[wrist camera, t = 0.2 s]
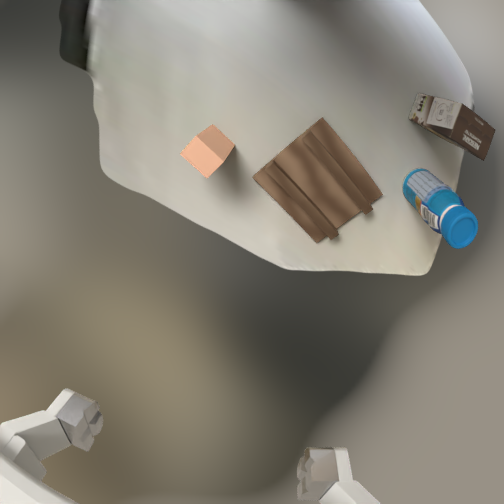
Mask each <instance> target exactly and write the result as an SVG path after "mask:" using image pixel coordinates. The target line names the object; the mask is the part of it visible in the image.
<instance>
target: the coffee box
mask: <svg viewBox="0 0 504 504" xmlns="http://www.w3.org/2000/svg"><path fill="white" fill-rule="evenodd" d="M409 119H410V120H411V121H413V122H415V123H417V124H418V125H420V126H422V127H424V128H425V129H427V130H429V131H430V132H432V133H434V134H435V135H437V136H439V137H440V138H442V139H444V140H446V141H448V142H450V143H452V144H454V145H456V146H458V147H460V148H462V149H464V150H466V151H467V152H470V153H471V154H473V155H475V156H476V157H478V158H480V159H481V160H483V161H484V159H485V157H486V155H487V152H488V150H489V147H490V144H491V141H492V138H493V135H494V133H495V129H494V128H493V127H491V126H490V125H489V124H488V123H487V122H485V121H484V120H483V119H482V118H481V117H479V116H478V115H477V114H476V113H474V112H473V111H472V110H470V109H469V108H468V107H466V106H465V105H464V104H462V103H458V102H454V101H450V100H447V99H442V98H438V97H433V96H429V95H424V94H419V93H418V94H417V97H416V99H415V102H414V104H413V107H412V110H411V112H410V115H409Z"/></svg>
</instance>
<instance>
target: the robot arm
mask: <svg viewBox="0 0 504 504" xmlns="http://www.w3.org/2000/svg"><path fill="white" fill-rule="evenodd" d="M98 409H99V404H98V402H96V401H94V400H91V399H89V398H87V397H84V396H82V395H80V394H78V393H76V392H74V391H72V390H69V389H67V388H66V389H64V390H63V391H62V392H61V393H60V395H59V396H58V397H57V398H56V399H55V401H54V402H53V403H52V404H51V406H50V407H49V408H48V409H47V410H46V411H44V410H42V411H39V412H36V413H33V414H30V415H27V416H23V417H20V418H17V419H14V420H10V421H7V422H3V423H2V424H1V425H0V504H79V503H77V502H75V501H73V500H71V499H69V498H68V497H66V496H64V495H62V494H61V493H59V492H57V491H55V490H54V489H52V488H50V487H49V486H47V485H46V484H44V483H43V482H41V481H42V479H43V477H44V476H45V474H46V469H45V467H44V466H43V465H42V464H41V462H40V461H41V460H43V459H45V458H47V457H49V456H51V455H53V454H55V453H57V452H59V451H61V450H63V449H65V448H66V447H68V446H70V445H71V444H72V445H74V446H77V447H79V448H81V449H83V450H85V451H89V449H90V447H91V446H92V444H93V442H94V438H93V436H94V435H96V434H99V432H100V430H101V429H102V425H103V416H102V414H101V413H100V412H99V411H98ZM297 478H298V479H299V480H300V481H301V482H300V483H299V485H298V486H297V493H298V500H319V502H320V504H381V503H380V502H379V501H378V500H376V499H375V498H374V497H373V496H372V495H371V494H370V493H369V492H368V491H367V490H366V489H365V488H364V487H363V486H362V485H361V484H360V483H359V482H358V481H353V477H352V471H351V466H350V461H349V456H348V451H347V449H346V448H344V447H340V448H332V447H308V448H306V450H305V451H304V456H303V457H301V459H300V461H299V464H298V468H297Z"/></svg>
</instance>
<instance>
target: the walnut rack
mask: <svg viewBox="0 0 504 504" xmlns="http://www.w3.org/2000/svg"><path fill="white" fill-rule="evenodd" d="M253 178H254V179H255V180H256V181H257V182H258V183H259V184H260V185H261V186H262V187H263V188H264V189H265V190H266V191H267V192H268V193H269V194H270V195H271V196H272V197H273V198H274V199H275V200H276V201H277V202H278V203H279V204H280V205H281V206H282V207H283V208H284V209H285V210H286V211H287V212H288V213H289V214H290V215H291V217H292V218H293V219H294V220H295V221H296V222H297V223H298V224H299V225H300V226H301V227H302V228H303V229H304V230H305V231H306V232H307V233H308V234H309V235H310V236H311V237H312V238H313V239H314V240H315V242H316V243H317V242H319V241H320V240H322V239H323V238H324V237H326V236H328V237H329V238H330V239H331V240H332V239H333V238H334V237H336V236H337V235H339V234H338V231H337V228H338V227H339V226H341V225H342V224H344V223H345V222H346V221H348V220H349V219H350V218H352V217H353V216H355V215H356V214H357V213H359V212H360V211H361V210H362V211H363V212H364V214H365V215H366V214H367V213H369V212H370V211H372V210H373V208H372V207H371V205H370V204H371V203H372V202H373V201H375V200H376V199H377V198H379V197H380V196H381V195H383V194H382V193H381V191H380V190H379V188H378V187H377V186H376V184H375V183H374V181H373V180H372V179H371V177H370V176H369V174H368V173H367V172H366V170H365V169H364V168H363V166H362V165H361V164H360V162H359V161H358V160H357V159H356V157H355V156H354V155H353V153H352V152H351V151H350V150H349V148H348V147H347V146H346V145H345V143H344V142H343V141H342V140H341V139H340V137H339V136H338V135H337V134H336V133H335V131H334V130H333V129H332V128H331V127H330V126H329V124H328V123H327V122H326V121H325V120H324V119H323V118H321V119H320V120H318V121H317V122H316V123H315V124H314V125H312V126H311V127H310V128H309V129H307V130H306V131H305V132H304V133H303V134H301V135H300V136H299V137H298V138H297V139H295V140H294V141H293V142H292V143H291V144H290V145H288V146H287V147H286V148H285V149H284V150H282V151H281V152H280V153H279V154H278V155H277V156H276V157H274V158H273V159H272V160H271V161H270V162H269V163H267V164H266V165H265V166H264V167H263V168H262V169H261V170H259V171H258V172H257V173H256V174H255V175H254V176H253Z"/></svg>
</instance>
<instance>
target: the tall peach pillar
mask: <svg viewBox="0 0 504 504" xmlns="http://www.w3.org/2000/svg"><path fill="white" fill-rule="evenodd" d="M234 146H235V144H233V143H232V142H231V141H230V140H229V139H228V138H227V137H226V136H225V135H224V134H223V133H222V132H221V131H220V130H219V129H217V128H216V127H215V126H214V125H213V124H212V125H211V126H209V127H208V128H207V129H205V130H204V131H202V132H201V133H199V134H198V135H196V136H195V137H194V139H193V140H192V141H191V142H190V143H189V144H188V145H187V146H186V147H185V148H184V150H183V151H182V152H181V153H180V154H181V155H182V156H183V157H184V158H185V159H186V160H187V161H188V162H189V163H190V164H192V165H193V166H194V167H195V168H196V169H197V170H198V171H199V172H200V173H201V174H203V175H204V176H205V177H206V178H208V177H209V176H210V175H211V174H212V173H213V172H214V171H215V170H216V169H217V168H218V167H219V166H220V165H221V164H222V163H223V162H224V161H225V159H226V158H227V156H228V155H229V153H230V152H231V150H232V149H233V147H234Z"/></svg>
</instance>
